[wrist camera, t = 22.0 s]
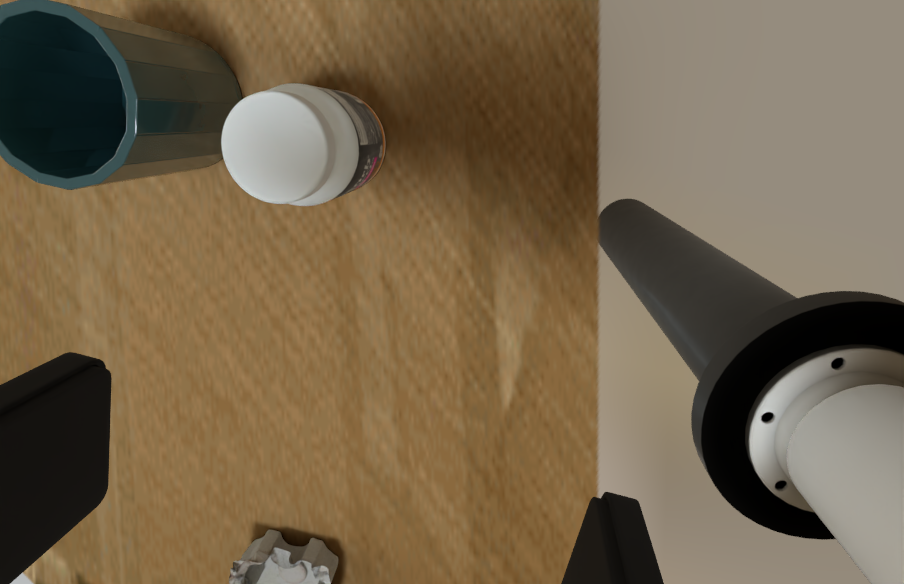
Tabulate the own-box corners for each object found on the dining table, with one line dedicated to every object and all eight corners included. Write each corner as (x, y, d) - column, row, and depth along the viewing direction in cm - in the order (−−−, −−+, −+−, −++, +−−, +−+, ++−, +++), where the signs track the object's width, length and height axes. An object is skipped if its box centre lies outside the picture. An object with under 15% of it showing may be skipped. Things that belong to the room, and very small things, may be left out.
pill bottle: (336, 209, 34) (270, 243, 25) (274, 132, 33) (180, 137, 24) (407, 151, 33) (366, 164, 23) (345, 68, 32) (275, 46, 22)
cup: (249, 49, 32) (139, 19, 22) (238, 181, 34) (134, 205, 25) (122, 21, 32) (-41, -20, 23) (119, 154, 34) (-29, 168, 25)
